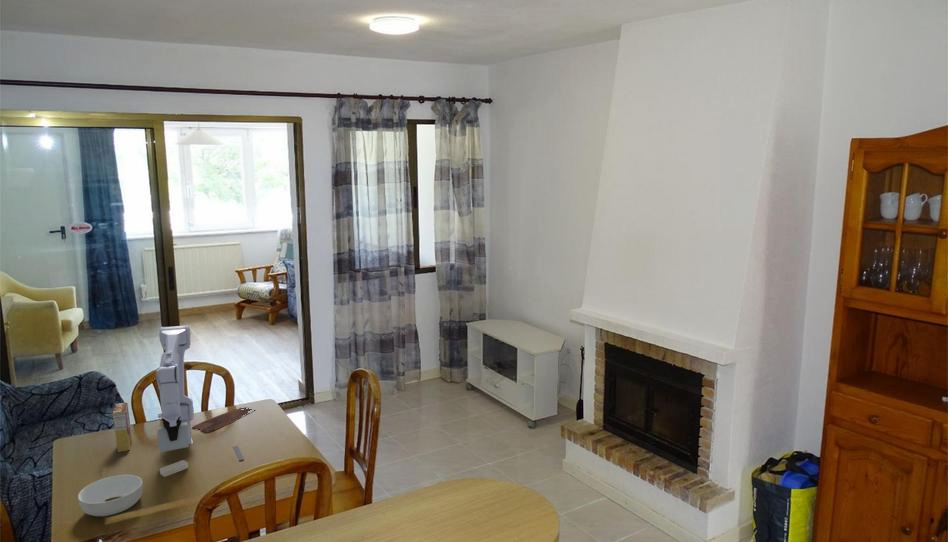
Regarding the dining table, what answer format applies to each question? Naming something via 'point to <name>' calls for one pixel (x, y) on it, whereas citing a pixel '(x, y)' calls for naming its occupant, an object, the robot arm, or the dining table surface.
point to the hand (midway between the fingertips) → (173, 438)
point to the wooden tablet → (221, 420)
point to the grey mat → (238, 453)
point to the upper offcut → (173, 468)
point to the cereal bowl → (110, 495)
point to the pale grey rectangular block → (173, 445)
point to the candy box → (122, 427)
